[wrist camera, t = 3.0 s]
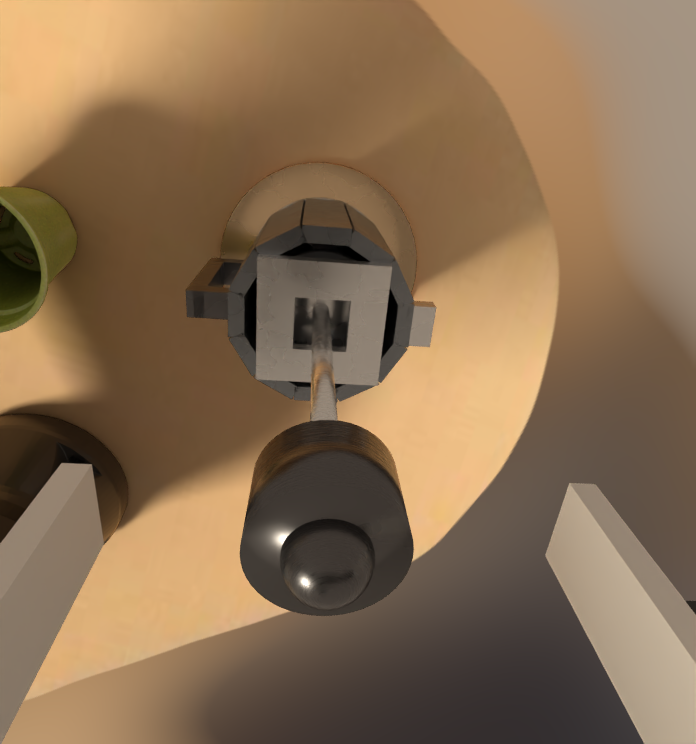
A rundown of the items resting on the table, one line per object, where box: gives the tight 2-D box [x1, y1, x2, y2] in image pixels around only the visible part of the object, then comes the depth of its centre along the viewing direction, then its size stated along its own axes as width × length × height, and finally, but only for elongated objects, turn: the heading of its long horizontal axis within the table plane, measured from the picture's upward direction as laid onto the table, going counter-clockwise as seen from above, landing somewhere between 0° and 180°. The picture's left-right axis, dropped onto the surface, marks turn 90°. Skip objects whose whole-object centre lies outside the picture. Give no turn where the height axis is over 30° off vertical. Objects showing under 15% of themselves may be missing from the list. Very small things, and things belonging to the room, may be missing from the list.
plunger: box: [240, 249, 414, 616], centre depth 21 cm, size 7×7×21 cm
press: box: [186, 162, 436, 402], centre depth 34 cm, size 15×15×13 cm
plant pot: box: [0, 187, 77, 332], centre depth 34 cm, size 9×9×9 cm
